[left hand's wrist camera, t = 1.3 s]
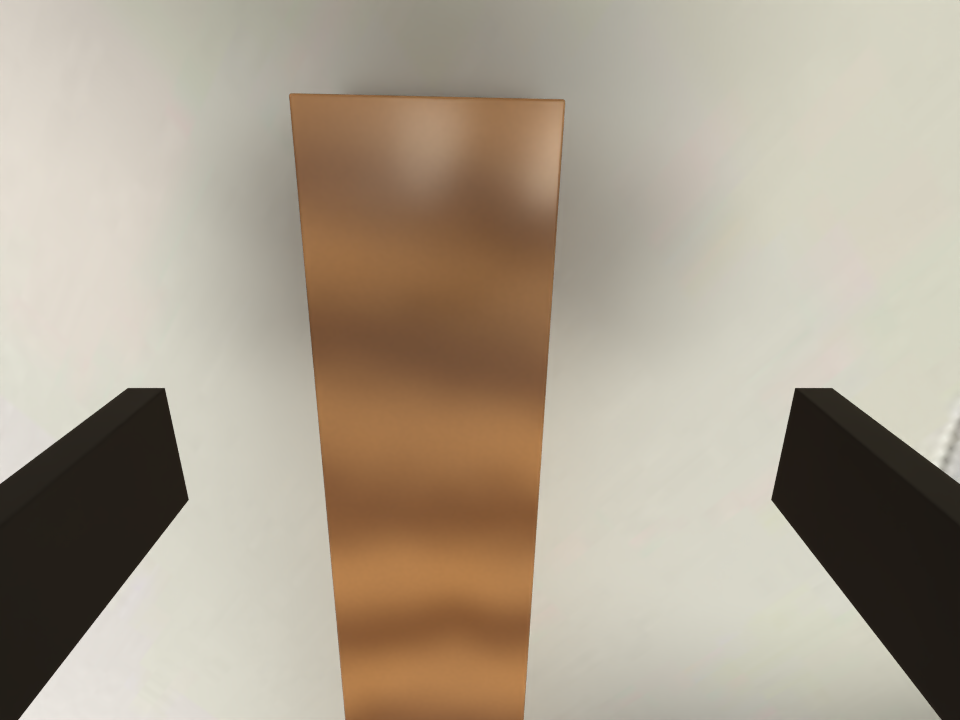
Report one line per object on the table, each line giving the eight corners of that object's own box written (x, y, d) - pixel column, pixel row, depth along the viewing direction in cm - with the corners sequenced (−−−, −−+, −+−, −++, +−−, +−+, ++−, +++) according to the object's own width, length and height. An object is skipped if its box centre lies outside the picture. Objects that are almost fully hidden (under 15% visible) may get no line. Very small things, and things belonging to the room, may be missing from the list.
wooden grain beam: (340, 101, 25) (288, 93, 18) (542, 105, 25) (565, 99, 18) (388, 881, 45) (371, 1017, 38) (500, 882, 45) (503, 1018, 39)
